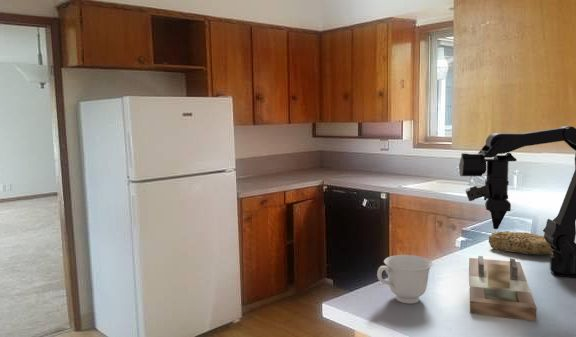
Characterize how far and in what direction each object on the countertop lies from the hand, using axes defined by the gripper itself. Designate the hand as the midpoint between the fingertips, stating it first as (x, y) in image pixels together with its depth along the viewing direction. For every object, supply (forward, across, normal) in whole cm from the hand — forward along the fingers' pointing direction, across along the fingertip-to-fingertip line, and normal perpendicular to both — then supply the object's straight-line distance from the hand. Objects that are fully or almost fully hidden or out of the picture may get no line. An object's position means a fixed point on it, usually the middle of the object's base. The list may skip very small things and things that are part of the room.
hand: (495, 228), depth 138 cm
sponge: (+13, -24, +10) cm, 29 cm away
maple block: (+10, +19, 0) cm, 22 cm away
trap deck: (+13, +16, 0) cm, 20 cm away
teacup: (+13, +30, -23) cm, 40 cm away
